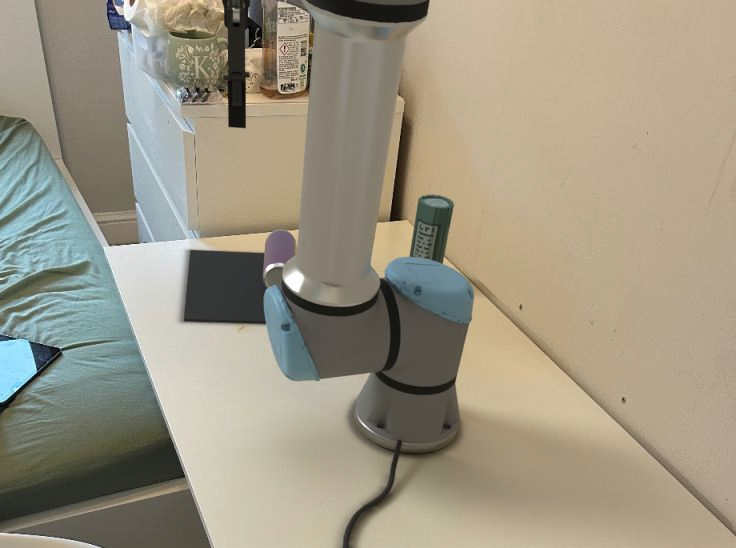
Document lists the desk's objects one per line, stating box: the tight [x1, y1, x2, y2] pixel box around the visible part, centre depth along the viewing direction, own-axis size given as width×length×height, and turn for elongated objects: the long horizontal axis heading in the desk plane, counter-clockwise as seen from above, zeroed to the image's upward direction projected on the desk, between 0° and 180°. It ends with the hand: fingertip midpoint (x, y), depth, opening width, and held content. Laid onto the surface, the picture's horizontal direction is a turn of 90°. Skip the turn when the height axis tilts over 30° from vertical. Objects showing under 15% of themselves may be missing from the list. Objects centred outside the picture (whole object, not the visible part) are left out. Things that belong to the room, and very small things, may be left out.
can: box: [408, 193, 455, 264], centre depth 136 cm, size 6×6×15 cm
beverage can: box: [262, 228, 298, 288], centre depth 134 cm, size 6×6×15 cm
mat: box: [183, 249, 267, 324], centre depth 132 cm, size 26×18×1 cm
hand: (237, 126), depth 115 cm, fingers closed
